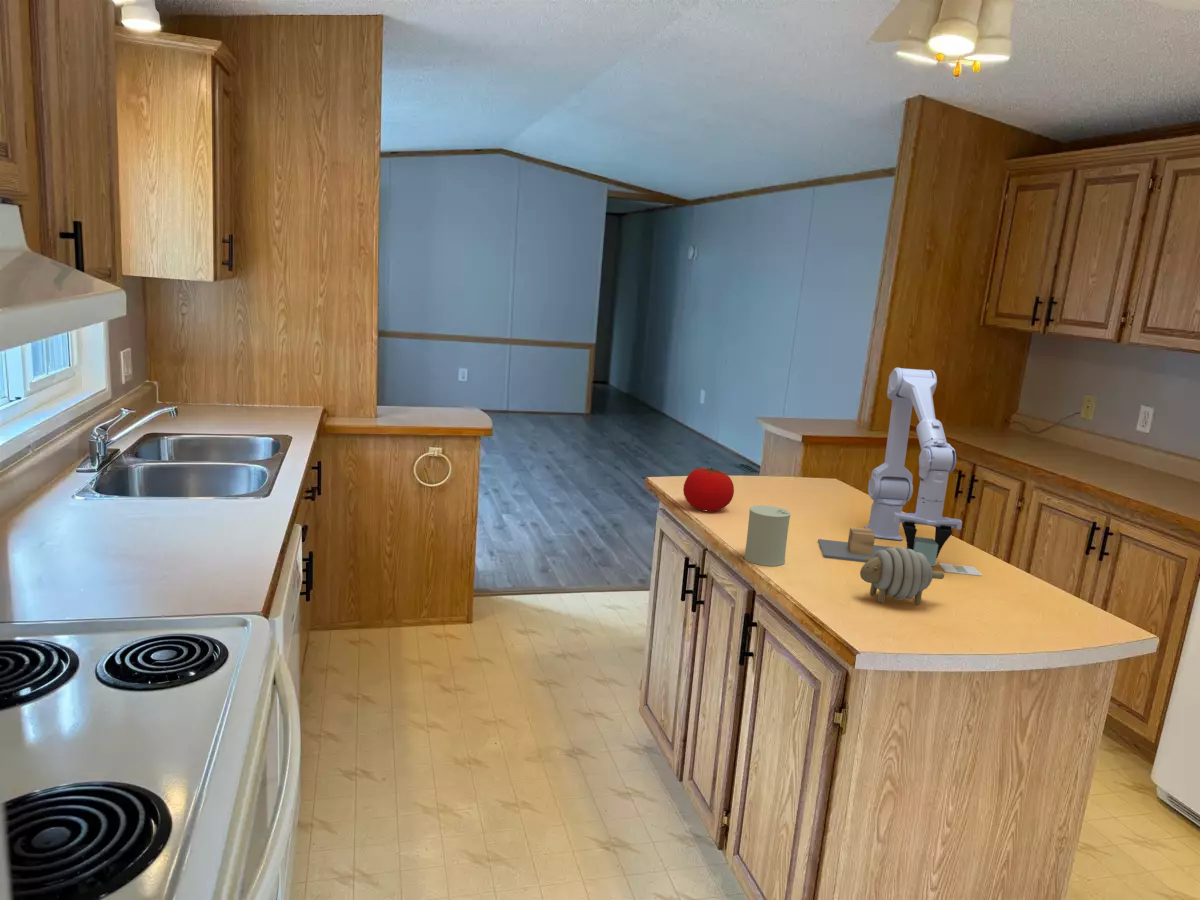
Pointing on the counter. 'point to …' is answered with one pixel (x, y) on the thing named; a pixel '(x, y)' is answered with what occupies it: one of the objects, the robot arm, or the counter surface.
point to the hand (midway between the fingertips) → (922, 555)
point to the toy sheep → (898, 574)
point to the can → (767, 535)
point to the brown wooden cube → (861, 541)
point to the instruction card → (960, 569)
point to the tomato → (708, 489)
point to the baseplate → (844, 551)
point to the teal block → (926, 548)
